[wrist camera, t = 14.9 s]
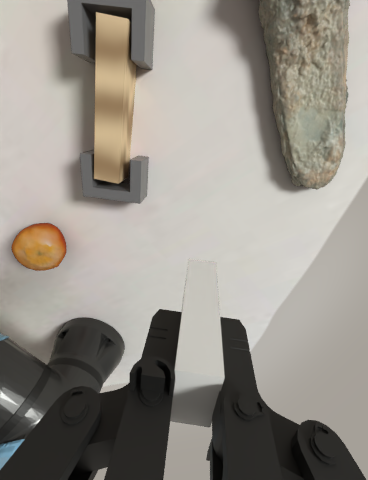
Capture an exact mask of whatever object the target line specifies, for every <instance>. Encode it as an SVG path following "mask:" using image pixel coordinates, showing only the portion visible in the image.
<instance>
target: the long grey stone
mask: <svg viewBox="0 0 368 480" xmlns="http://www.w3.org/2000/svg"><path fill="white" fill-rule="evenodd" d="M349 2H350V1H349V0H260V3H259V9H258V11H259V19H260V21H261V24H262V26H261V27H262V28H263V29H264V42H265V44H266V51H267V52H266V54H267V57H268V59H269V65H270V78H271V79H270V80H271V91H272V93H273V110H274V114H275V119H276V123H277V129H278V131H279V134H280V137H281V148H282V154H283V156H284V157H285V161H286V164H287V167H288V171H289V173H290V175H291V176H292V183H293V184H294V185H296V186H301V185H303V186H304V187H308V188H312V189H319V188H321V187H324V186H325V185H327V184H328V183H329V182H330V181H331V180H332V179H333V177H334V176H335V175H336V173H337V169H338V168H339V165H340V162H341V159H342V157H343V151H344V148H345V116H344V114H345V108H346V103H347V98H348V92H347V89H348V88H347V86H346V81H347V80H346V70H347V55H348V50H347V48H348V43H349V33H348V17H347V15H348V8H349V6H350V3H349Z"/></svg>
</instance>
